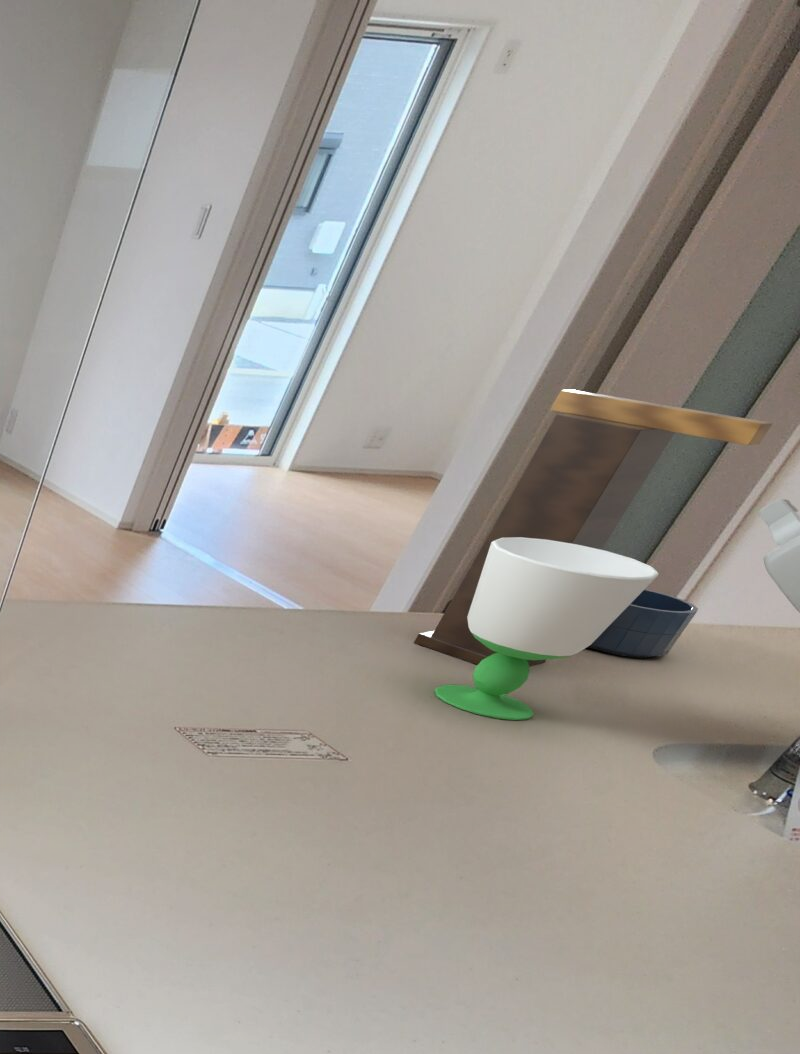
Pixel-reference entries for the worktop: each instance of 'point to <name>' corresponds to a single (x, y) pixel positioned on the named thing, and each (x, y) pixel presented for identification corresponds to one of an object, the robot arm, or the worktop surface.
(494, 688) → the cup
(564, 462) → the tall brown box
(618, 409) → the wooden bar
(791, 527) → the robot arm
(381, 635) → the worktop surface
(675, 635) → the bowl
